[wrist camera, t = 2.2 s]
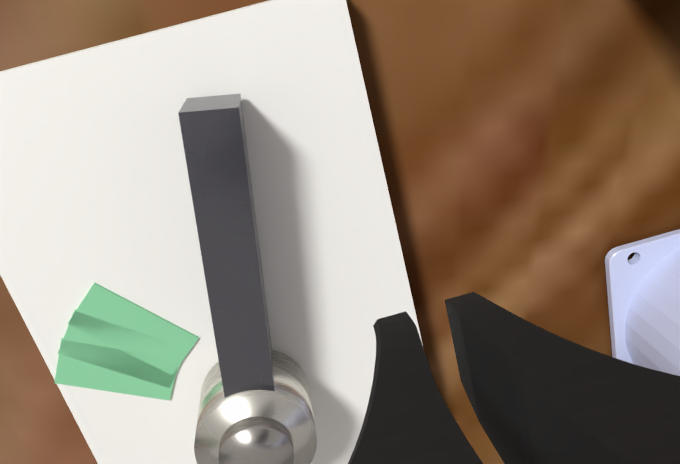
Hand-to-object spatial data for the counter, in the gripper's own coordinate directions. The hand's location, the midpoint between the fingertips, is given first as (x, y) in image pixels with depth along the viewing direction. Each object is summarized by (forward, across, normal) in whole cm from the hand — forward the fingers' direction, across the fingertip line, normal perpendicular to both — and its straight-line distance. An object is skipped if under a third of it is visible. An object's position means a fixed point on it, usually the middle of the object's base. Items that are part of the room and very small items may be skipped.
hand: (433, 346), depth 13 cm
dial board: (+10, +6, +6) cm, 13 cm away
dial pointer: (+9, +5, +2) cm, 10 cm away
